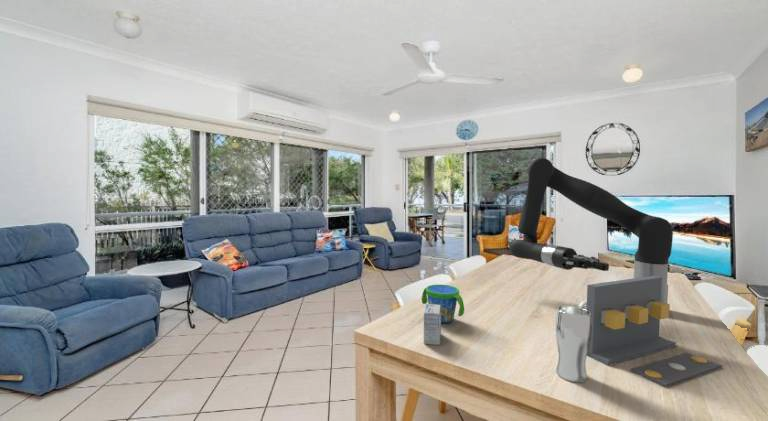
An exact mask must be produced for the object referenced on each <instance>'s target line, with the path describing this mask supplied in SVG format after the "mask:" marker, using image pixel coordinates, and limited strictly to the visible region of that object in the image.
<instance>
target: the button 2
mask: <svg viewBox="0 0 768 421" xmlns="http://www.w3.org/2000/svg"><path fill="white" fill-rule="evenodd" d="M670 306H671V304H670V303H668V302H667V303H663V302H654V301H647V302H646V308H648V314H649V315H650V316H651V317H654V318H658V319H660V320H664V319H669V318H670V308H671V307H670Z"/></svg>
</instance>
